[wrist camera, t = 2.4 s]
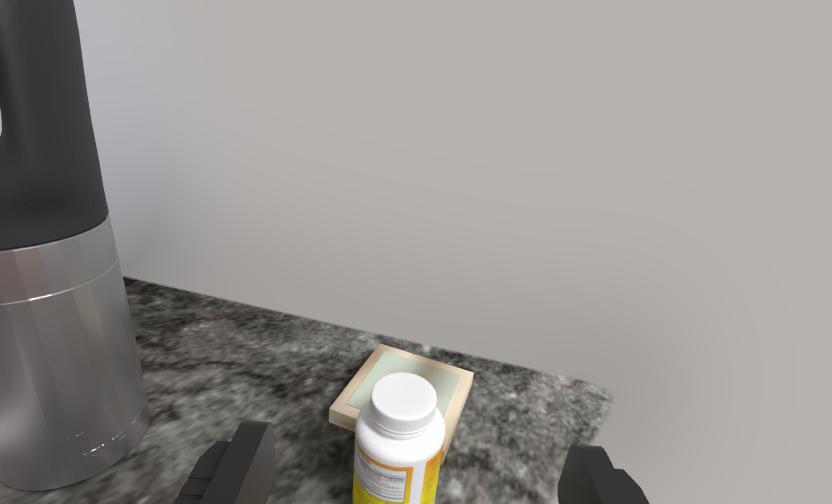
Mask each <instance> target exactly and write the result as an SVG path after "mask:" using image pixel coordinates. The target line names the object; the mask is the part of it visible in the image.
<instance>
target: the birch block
mask: <svg viewBox="0 0 832 504" xmlns="http://www.w3.org/2000/svg"><path fill="white" fill-rule="evenodd" d="M398 372H405V373H411V374H415V375H418V376H420V377H422V378H424V379H425V380H427V381H428V382H429V383H430V384H431V385H432V386H433V388H434V390H435V392H436V396H437V402H436V407H437V408H438V409H439V411H440V413H441V415H442V417H443V419H444V423H445V438H444V444H443V450H442V456H441V463H440V465H442V464H443V462H444V459H445V456H446V453H447V451H448V448H449V445H450V442H451V440H452V437H453V434H454V431H455V429H456V426H457V423H458V421H459V418H460V415H461V412H462V410H463V407H464V404H465V401H466V399H467V396H468V393H469V391H470V388H471V385H472V380H473V375H474V373H473V372H470V371H466V370H463V369H460V368H457V367H454V366H450V365H447V364H444V363H441V362H437V361H434V360H431V359H428V358H425V357H421V356H418V355H415V354H412V353H408V352H405V351H402V350H399V349H396V348H392V347H389V346H386V345H383V344H379V345H378V347H377V348H376V349H375V350H374V352H373V353H372V354H371V356H370V357H369V358H368V359H367V361H366V362H365V363H364V365H363V366H362V367H361V368H360V370H359V371H358V372H357V374H356V375H355V376H354V377H353V379H352V380H351V381H350V383H349V384H348V385H347V386H346V388H345V389H344V390H343V392H342V393H341V394H340V395H339V397H338V398H337V399H336V401H335V402H334V403H333V404H332V406H331V407H330V408H329V423H332V424H335V425H337V426H340V427H343V428H345V429H348V430H350V431H353V432H355V428H356V421H357V417H358V414H359V412H360V410H361V409H362V407H363V406H364V405H365V404H366V403H367V402H368V401H369V400H370V397H371V390H372V388H373V386H374V384H375V383H376V382H377V381H378V380H379V379H380V378H382V377H383V376H385V375H388V374H391V373H398Z"/></svg>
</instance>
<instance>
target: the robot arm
mask: <svg viewBox="0 0 832 504" xmlns="http://www.w3.org/2000/svg"><path fill="white" fill-rule="evenodd" d="M0 109H1V117H2V118H1V119H2V132H1V136H0V481H1V482H2V483H4V484H6V485H7V486H9V487H11V488H14V489H18V490H23V491H44V490H50V489H57V488H61V487H64V486H68V485H71V484H75V483H78V482H80V481H82V480H85V479H87V478H90V477H92V476H94V475H96V474H98V473H100V472H101V471H103V470H105V469H107V468H109V467H110V466H112V465H113V464H115V463H116V462H117V461H119V460H120V459H122V458H123V457H124V456H125V455H127V454H128V453H129V452H130V451H131V450H132V449H133V448H134V447H135V446H136V445H137V444H138V442H139V441H140V440H141V439H142V437H143V436H144V434H145V432H146V430H147V428H148V426H149V423H150V418H151V415H150V408H149V404H148V399H147V394H146V389H145V384H144V379H143V373H142V368H141V364H140V359H139V354H138V349H137V344H136V340H135V335H134V330H133V325H132V320H131V316H130V311H129V306H128V301H127V296H126V292H125V287H124V282H123V277H122V272H121V268H120V263H119V258H118V254H117V250H116V245H115V240H114V235H113V231H112V226H111V221H110V216H109V213H108V206H107V202H106V198H105V193H104V188H103V182H102V176H101V170H100V163H99V158H98V153H97V148H96V142H95V137H94V132H93V127H92V121H91V115H90V109H89V102H88V96H87V89H86V83H85V75H84V68H83V60H82V52H81V45H80V37H79V30H78V25H77V19H76V13H75V7H74V2H73V0H0ZM274 474H275V446H274V429H273V424H272V422H258V421H242V422H241V423H240V425H239V427H238V429H237V430H236V432H235V434H234V436H233V438H232V440H231V442H227V441H217V442H216V443H215V444H214V445H212V446H211V447H210V448H209V449H208V450H207V451H206V452H205V453H204V454H203V455H202V456H201V457H200V458H199V459H198V461H197V463H196V465H195V466H194V468H193V470H192V472H191V473H190V475H189V477H188V481H186V482H185V484H184V486H183V487H182V489H181V491H180V493H179V496H178V498H176V500H175V501H174V503H173V504H266V502H267V499H268V496H269V493H270V490H271V487H272V484H273V479H274ZM558 502H559V504H649V502H648V500H647V498H646V497H645V495H644V493H643V491H642V489H641V488H640V486H638V484H637V483H636V482H635V481H634V480H633V479H632V478H631V477H630V476H629V475H628V474H627V473H626V472H625V471H624V470H623V469H614V467H613V465H612V463H611V461H610V459H609V457H608V455H607V453H606V451H605V450H604V449H603V448H602V447H601V446H589V445H575V444H573V445H571V446H570V448H569V451H568V454H567V457H566V460H565V464H564V467H563V470H562V473H561V476H560V480H559V483H558Z"/></svg>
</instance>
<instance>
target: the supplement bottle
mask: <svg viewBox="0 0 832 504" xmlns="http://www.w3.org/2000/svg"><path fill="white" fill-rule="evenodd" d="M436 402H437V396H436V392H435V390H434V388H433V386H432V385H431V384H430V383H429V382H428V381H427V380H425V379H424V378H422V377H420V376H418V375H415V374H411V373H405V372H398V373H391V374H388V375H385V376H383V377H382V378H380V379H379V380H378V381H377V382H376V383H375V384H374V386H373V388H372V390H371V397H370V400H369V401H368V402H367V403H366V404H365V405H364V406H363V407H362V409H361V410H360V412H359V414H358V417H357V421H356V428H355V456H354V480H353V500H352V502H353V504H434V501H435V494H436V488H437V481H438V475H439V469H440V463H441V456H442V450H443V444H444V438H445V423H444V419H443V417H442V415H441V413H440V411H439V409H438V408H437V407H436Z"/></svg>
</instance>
